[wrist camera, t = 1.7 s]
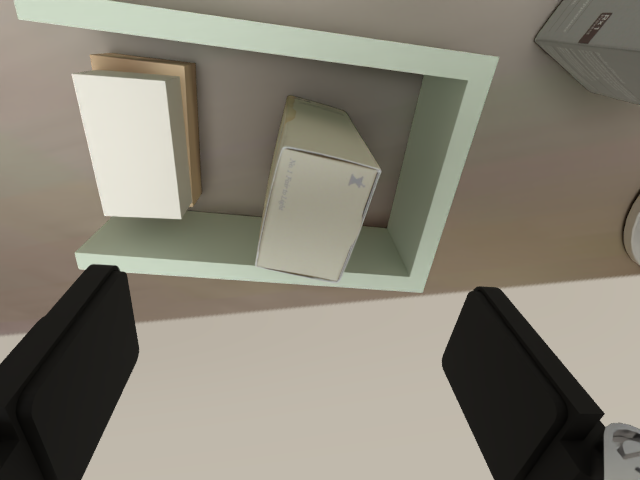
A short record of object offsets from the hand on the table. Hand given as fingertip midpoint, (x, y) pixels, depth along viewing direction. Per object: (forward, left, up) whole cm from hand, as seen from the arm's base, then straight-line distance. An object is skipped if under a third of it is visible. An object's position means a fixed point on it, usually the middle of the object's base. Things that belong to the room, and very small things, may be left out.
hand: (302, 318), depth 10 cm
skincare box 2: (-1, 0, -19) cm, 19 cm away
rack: (+2, 0, -18) cm, 19 cm away
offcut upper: (+10, 0, -16) cm, 19 cm away
